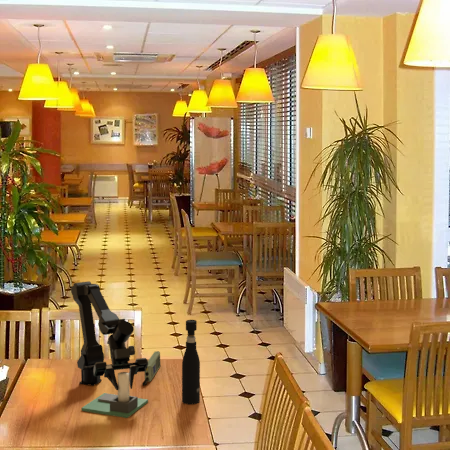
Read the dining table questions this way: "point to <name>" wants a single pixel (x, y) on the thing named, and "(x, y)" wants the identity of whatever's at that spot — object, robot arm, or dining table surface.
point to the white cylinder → (123, 387)
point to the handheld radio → (152, 367)
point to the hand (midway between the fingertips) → (124, 389)
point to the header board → (114, 405)
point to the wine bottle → (191, 367)
